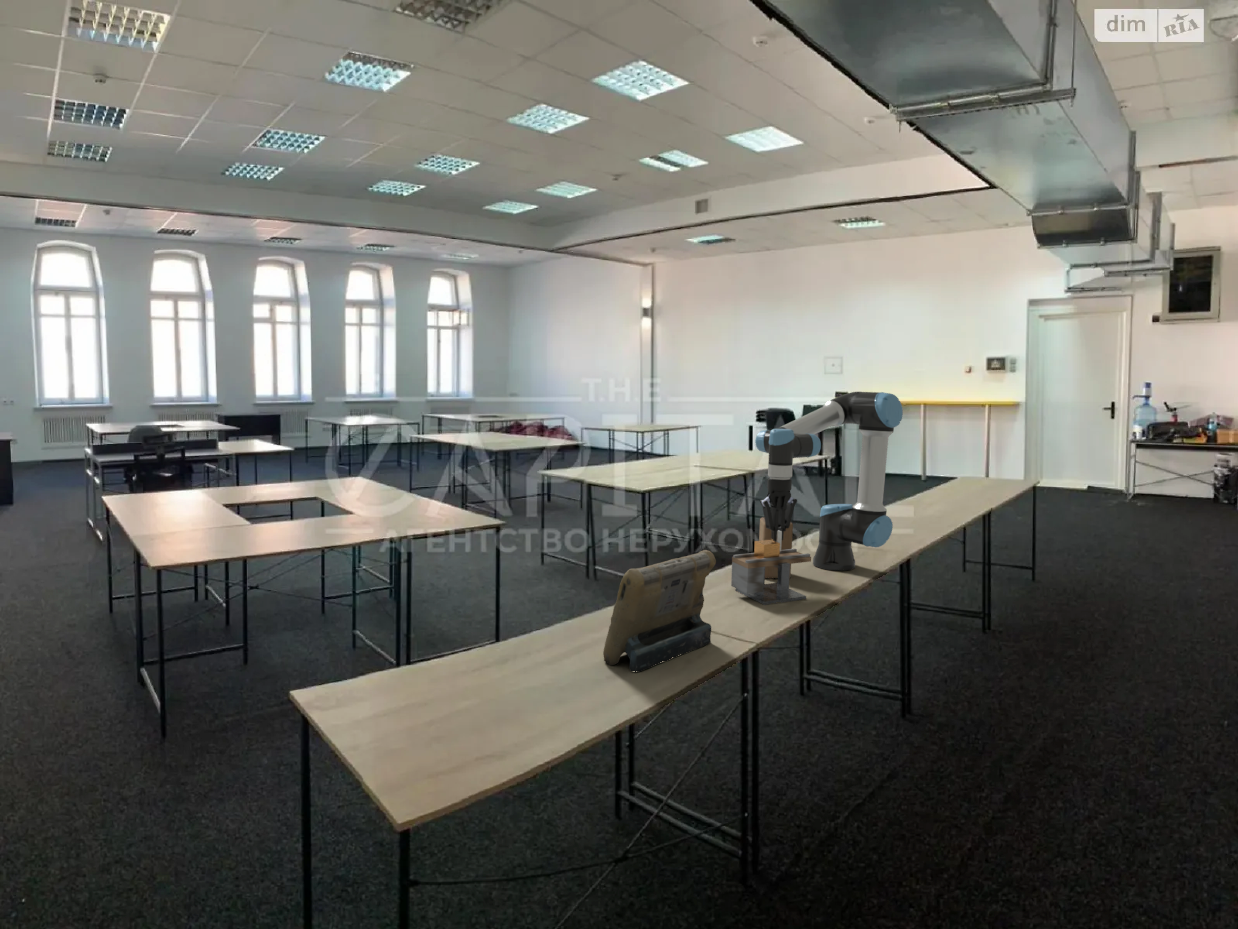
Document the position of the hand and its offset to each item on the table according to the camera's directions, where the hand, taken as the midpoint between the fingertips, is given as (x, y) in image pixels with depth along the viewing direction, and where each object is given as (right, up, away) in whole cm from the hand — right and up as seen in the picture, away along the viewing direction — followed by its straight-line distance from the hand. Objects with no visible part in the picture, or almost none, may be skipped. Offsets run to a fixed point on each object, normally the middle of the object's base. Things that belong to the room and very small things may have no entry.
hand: (776, 550), depth 243 cm
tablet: (-40, -21, -49) cm, 67 cm away
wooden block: (+4, -12, +24) cm, 27 cm away
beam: (-2, -11, +1) cm, 12 cm away
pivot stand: (-2, -14, +1) cm, 15 cm away
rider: (-3, -2, -1) cm, 4 cm away
